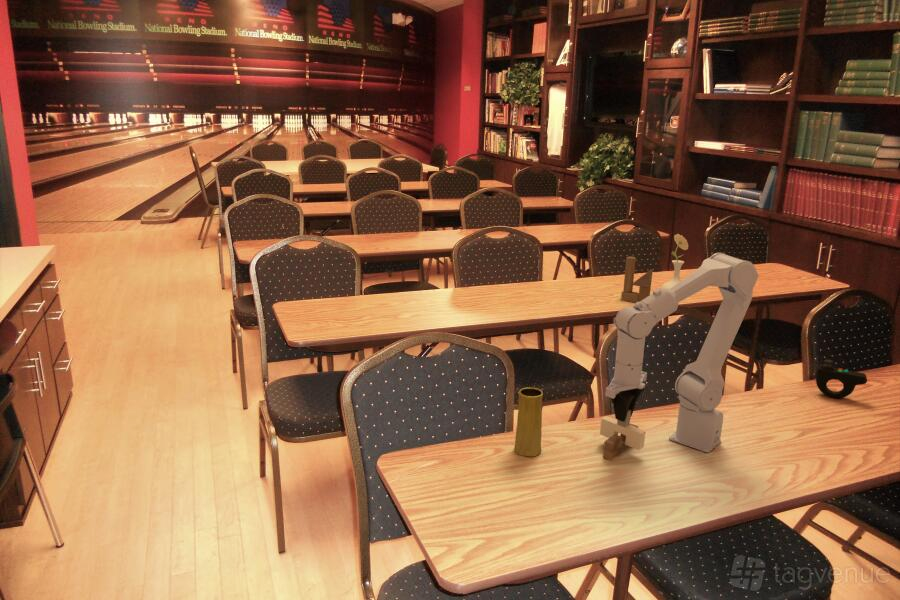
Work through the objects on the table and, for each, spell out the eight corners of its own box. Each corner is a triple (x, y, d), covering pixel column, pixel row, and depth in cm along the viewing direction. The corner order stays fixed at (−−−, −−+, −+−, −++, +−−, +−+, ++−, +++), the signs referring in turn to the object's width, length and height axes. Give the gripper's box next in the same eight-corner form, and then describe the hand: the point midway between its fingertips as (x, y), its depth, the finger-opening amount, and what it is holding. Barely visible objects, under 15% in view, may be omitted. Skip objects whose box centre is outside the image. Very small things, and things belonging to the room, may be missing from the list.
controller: (811, 389, 186) (817, 356, 184) (862, 400, 180) (869, 365, 177) (810, 394, 183) (816, 360, 180) (862, 405, 177) (869, 370, 174)
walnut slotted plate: (628, 438, 156) (630, 423, 155) (636, 441, 155) (638, 426, 154) (603, 457, 147) (604, 441, 146) (611, 460, 146) (612, 444, 145)
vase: (509, 446, 151) (512, 388, 148) (533, 442, 154) (537, 385, 150) (521, 459, 146) (524, 399, 142) (546, 454, 148) (550, 395, 144)
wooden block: (646, 305, 265) (650, 261, 260) (620, 300, 271) (624, 257, 266) (649, 303, 268) (654, 259, 263) (624, 298, 274) (628, 255, 269)
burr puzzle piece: (599, 434, 153) (602, 404, 151) (604, 431, 154) (607, 402, 152) (639, 450, 146) (643, 419, 144) (643, 447, 148) (647, 416, 146)
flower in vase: (692, 296, 279) (699, 238, 272) (664, 296, 279) (671, 237, 272) (682, 288, 291) (689, 232, 284) (656, 288, 291) (662, 231, 285)
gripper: (628, 375, 137) (622, 434, 141) (661, 358, 148) (655, 413, 151) (599, 365, 142) (593, 423, 146) (632, 349, 152) (627, 404, 156)
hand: (623, 418), depth 149 cm, fingers closed on burr puzzle piece, 2 cm apart
